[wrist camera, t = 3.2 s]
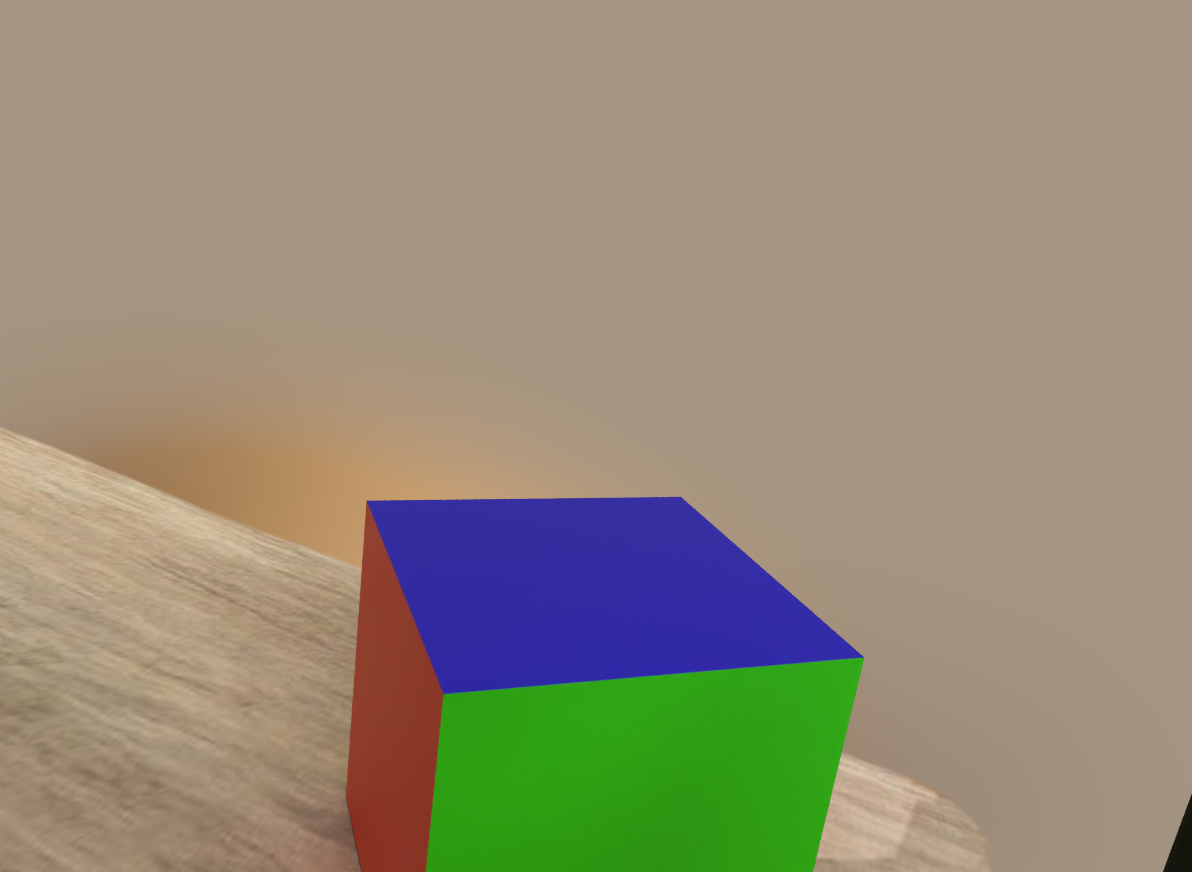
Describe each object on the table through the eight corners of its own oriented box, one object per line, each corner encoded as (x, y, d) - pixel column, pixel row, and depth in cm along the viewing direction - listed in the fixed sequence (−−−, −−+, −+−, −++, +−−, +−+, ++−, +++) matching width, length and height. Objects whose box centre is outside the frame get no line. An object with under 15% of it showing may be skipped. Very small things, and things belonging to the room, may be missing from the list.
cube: (346, 796, 25) (366, 501, 23) (636, 760, 28) (680, 496, 26) (404, 1080, 18) (443, 693, 16) (783, 991, 21) (864, 657, 19)
